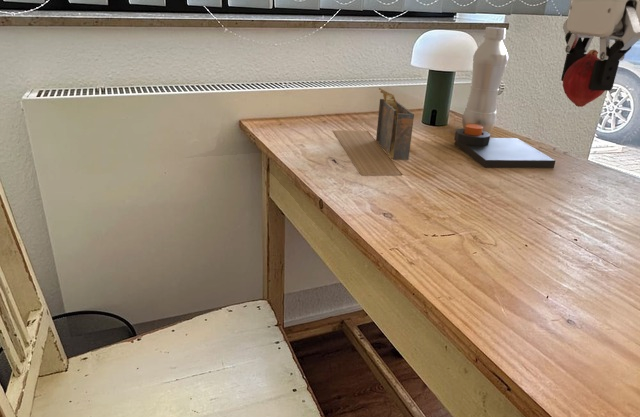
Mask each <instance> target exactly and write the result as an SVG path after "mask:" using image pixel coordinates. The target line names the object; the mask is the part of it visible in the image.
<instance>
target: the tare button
mask: <svg viewBox="0 0 640 417" xmlns="http://www.w3.org/2000/svg"><path fill="white" fill-rule="evenodd" d="M482 130H483V127H482V126H480V125H475V124H467V125H466V126H465V131H464V133H465V134H468V135H475V136H480V135H482Z"/></svg>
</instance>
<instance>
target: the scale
mask: <svg viewBox="0 0 640 417" xmlns="http://www.w3.org/2000/svg"><path fill="white" fill-rule="evenodd" d="M464 131H465V128H463V127H462V128H457V129H456V130H455V134H454V139H453V140H454V145H455V146H456V147H457V148H458V149H460V150H461V151H463V152H464V153H465V154H466V155H467V156H469V157H470V158H471V159H472V160H473V161H475V162H476V163H477V164H479V166H481V167H483V168H484V169H554V168H555V164H556V159H554V158H552V157H550V156H549V155H547V154H545V153H543V151H542V152H541V151H540V150H538V149H536V148H535V147H533V146H532V145H530V144H528V143H526V142H525V141H523V140H521V139H519V138H517V137H491V133H488V132H486V131H482V135H480V136H475V135H468V134H465V133H464Z"/></svg>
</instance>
